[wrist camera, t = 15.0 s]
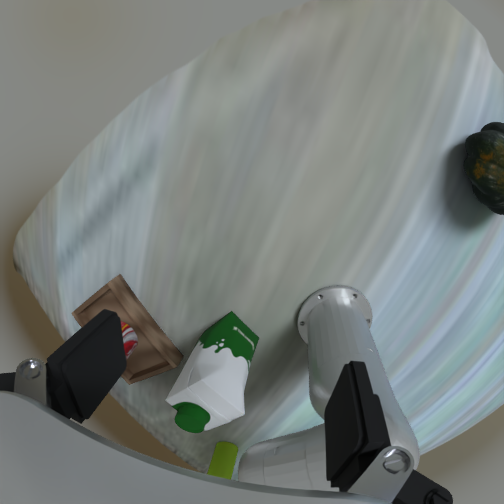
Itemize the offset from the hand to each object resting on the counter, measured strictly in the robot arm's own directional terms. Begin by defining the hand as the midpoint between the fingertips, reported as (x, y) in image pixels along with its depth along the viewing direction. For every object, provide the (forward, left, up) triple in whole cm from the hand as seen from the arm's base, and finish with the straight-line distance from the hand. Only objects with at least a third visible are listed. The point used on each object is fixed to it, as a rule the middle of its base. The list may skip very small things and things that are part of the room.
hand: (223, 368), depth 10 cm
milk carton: (-14, +18, -33) cm, 39 cm away
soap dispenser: (-43, +42, -33) cm, 68 cm away
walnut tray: (-4, +38, -32) cm, 50 cm away
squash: (-11, -36, -33) cm, 50 cm away
